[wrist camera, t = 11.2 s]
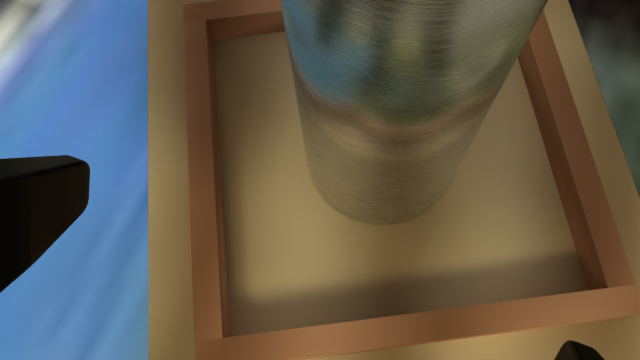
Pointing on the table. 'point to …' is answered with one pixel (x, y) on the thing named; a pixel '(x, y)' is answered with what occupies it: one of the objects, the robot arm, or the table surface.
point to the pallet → (379, 240)
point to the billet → (397, 93)
